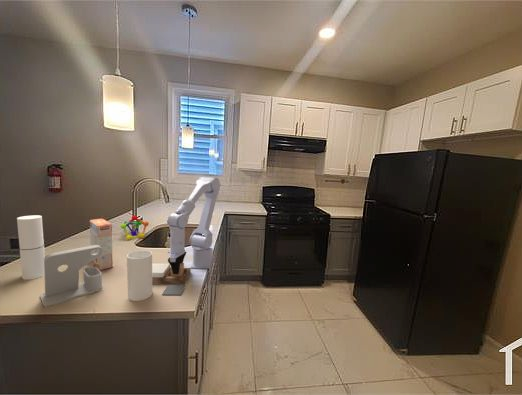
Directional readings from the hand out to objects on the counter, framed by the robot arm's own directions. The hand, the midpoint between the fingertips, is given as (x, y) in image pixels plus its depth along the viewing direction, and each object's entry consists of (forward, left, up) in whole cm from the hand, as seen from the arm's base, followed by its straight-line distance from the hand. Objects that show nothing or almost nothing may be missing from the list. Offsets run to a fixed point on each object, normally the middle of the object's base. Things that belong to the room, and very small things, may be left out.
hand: (177, 271), depth 101 cm
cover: (+9, 0, -1) cm, 9 cm away
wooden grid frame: (+4, 0, -3) cm, 6 cm away
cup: (+10, +13, -3) cm, 17 cm away
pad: (-2, +10, -3) cm, 11 cm away
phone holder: (+35, +12, -3) cm, 37 cm away
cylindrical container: (+58, 0, -3) cm, 59 cm away
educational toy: (+42, -54, -3) cm, 68 cm away
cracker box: (+38, -12, -3) cm, 41 cm away
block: (0, 0, -3) cm, 3 cm away
